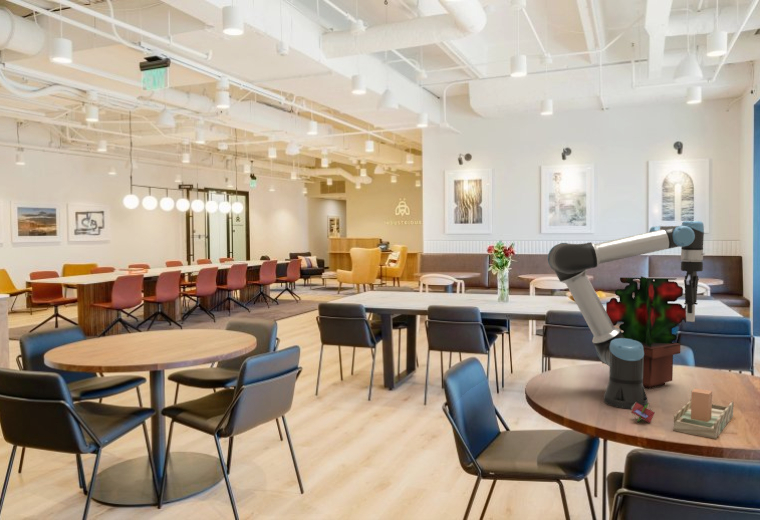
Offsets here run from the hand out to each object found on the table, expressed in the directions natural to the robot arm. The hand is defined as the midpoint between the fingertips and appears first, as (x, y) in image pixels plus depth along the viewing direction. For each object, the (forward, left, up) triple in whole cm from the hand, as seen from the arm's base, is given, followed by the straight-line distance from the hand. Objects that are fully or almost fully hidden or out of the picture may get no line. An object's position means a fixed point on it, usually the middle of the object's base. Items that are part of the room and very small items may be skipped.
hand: (690, 321), depth 227 cm
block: (-19, -36, -27) cm, 49 cm away
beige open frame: (-15, -32, -29) cm, 46 cm away
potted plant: (-8, +18, -30) cm, 36 cm away
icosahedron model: (-35, -29, -30) cm, 54 cm away
